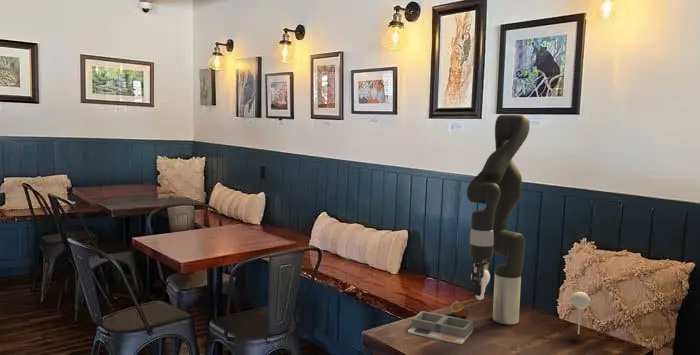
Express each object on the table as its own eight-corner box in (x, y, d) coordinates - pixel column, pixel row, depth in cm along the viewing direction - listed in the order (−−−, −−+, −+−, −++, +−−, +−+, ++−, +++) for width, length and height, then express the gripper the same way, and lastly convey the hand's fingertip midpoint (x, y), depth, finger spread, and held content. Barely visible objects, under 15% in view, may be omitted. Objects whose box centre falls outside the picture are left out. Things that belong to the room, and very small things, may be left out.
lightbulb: (489, 303, 177) (490, 270, 175) (470, 302, 178) (471, 269, 176) (488, 297, 182) (489, 265, 181) (470, 296, 184) (471, 264, 182)
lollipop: (587, 332, 191) (590, 290, 189) (588, 338, 185) (591, 295, 183) (568, 329, 193) (571, 288, 191) (569, 335, 187) (572, 293, 185)
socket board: (421, 320, 198) (421, 310, 198) (472, 331, 189) (473, 320, 189) (407, 332, 187) (408, 322, 186) (461, 344, 178) (462, 333, 177)
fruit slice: (471, 320, 200) (472, 307, 200) (454, 320, 199) (454, 307, 199) (464, 312, 208) (464, 299, 208) (447, 312, 207) (447, 300, 207)
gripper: (487, 248, 170) (485, 301, 172) (498, 239, 182) (496, 288, 184) (464, 245, 173) (462, 297, 175) (476, 237, 186) (474, 285, 188)
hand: (479, 292), depth 180 cm, fingers closed on lightbulb, 5 cm apart
